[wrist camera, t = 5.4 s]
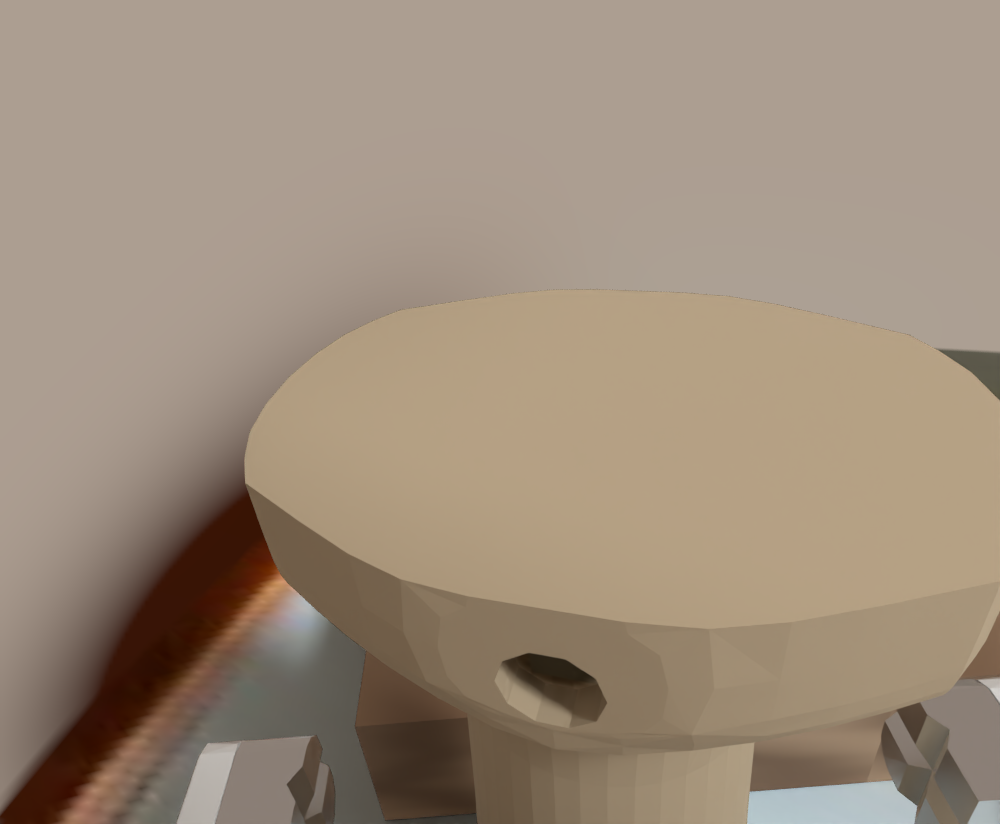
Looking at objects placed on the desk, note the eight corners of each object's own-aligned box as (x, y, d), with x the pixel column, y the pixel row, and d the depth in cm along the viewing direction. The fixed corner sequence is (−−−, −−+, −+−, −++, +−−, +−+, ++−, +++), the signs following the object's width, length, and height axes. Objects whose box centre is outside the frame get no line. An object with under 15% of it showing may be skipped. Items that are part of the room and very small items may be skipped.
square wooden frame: (801, 446, 30) (817, 359, 28) (1016, 770, 18) (1072, 665, 16) (418, 479, 30) (402, 396, 28) (384, 820, 18) (353, 724, 16)
